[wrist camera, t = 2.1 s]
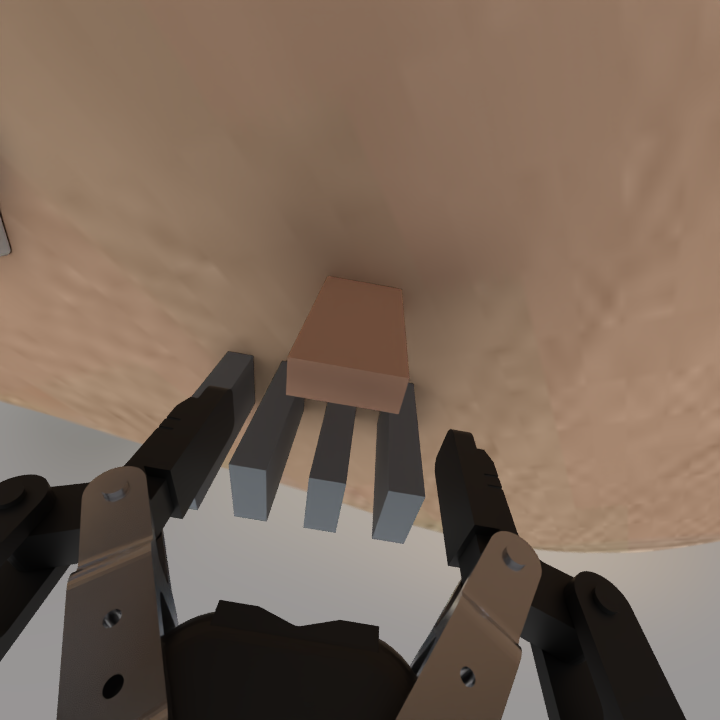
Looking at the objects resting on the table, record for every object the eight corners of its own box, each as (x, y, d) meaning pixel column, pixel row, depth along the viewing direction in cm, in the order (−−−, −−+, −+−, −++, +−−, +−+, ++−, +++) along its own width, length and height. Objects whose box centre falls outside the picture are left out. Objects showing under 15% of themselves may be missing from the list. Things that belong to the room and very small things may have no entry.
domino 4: (329, 415, 28) (303, 527, 20) (335, 370, 25) (308, 477, 17) (351, 419, 28) (335, 532, 20) (360, 374, 25) (346, 483, 17)
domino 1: (232, 399, 28) (164, 504, 19) (228, 351, 25) (147, 450, 17) (254, 402, 28) (197, 509, 20) (253, 355, 25) (185, 456, 17)
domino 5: (377, 423, 28) (372, 538, 20) (388, 379, 25) (388, 490, 17) (399, 427, 28) (403, 543, 20) (413, 383, 25) (425, 496, 17)
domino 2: (280, 407, 28) (234, 516, 20) (282, 360, 25) (228, 464, 17) (303, 411, 28) (266, 521, 20) (307, 365, 25) (266, 470, 17)
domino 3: (327, 275, 21) (287, 357, 13) (401, 289, 21) (409, 378, 13) (325, 303, 22) (286, 394, 14) (395, 316, 22) (398, 414, 14)
